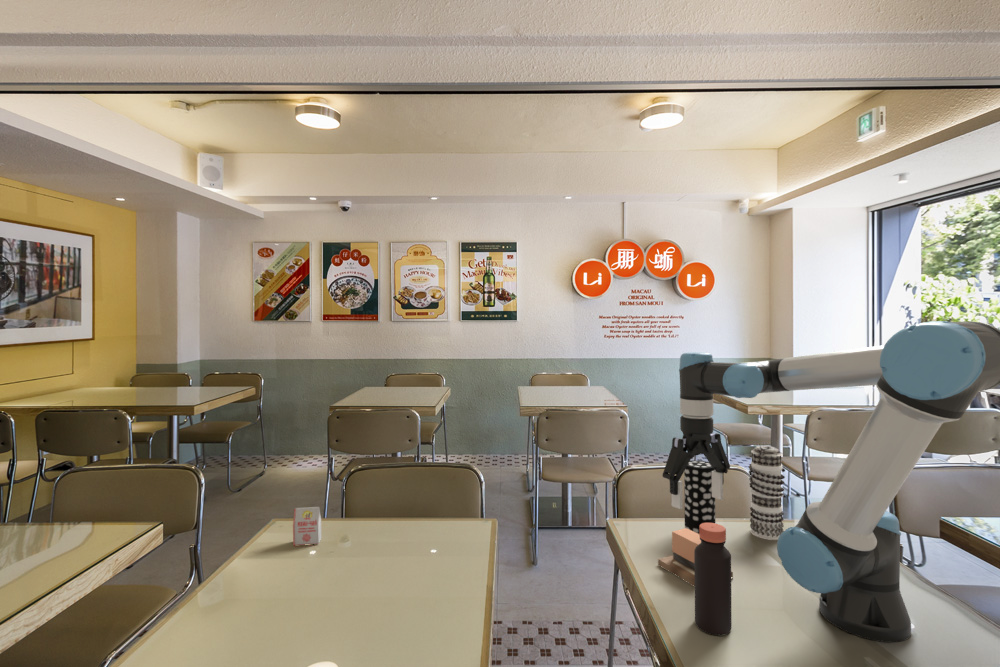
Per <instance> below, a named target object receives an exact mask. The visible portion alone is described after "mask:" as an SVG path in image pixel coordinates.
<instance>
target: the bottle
mask: <svg viewBox="0 0 1000 667" xmlns="http://www.w3.org/2000/svg"><path fill="white" fill-rule="evenodd" d="M699 536H700V540H701V543H700V544H699V545H698V546H696V548H695V551H694V565H695V587H694V622H695V625H696V626H697V627H698V629H699V630H701V631H702V632H704V633H707V634H709V635H712V634H713V636H725V635H728V634H730V632H732V579H731V571H732V554H731V552H730V551H729V550H728V548H727V547H726V546H725V544H726V540H727V528H726V527H725V526H723V525H721V524H718V523H716V522H715V523H702V524H700V525H699Z"/></svg>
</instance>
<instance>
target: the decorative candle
mask: <svg viewBox="0 0 1000 667" xmlns="http://www.w3.org/2000/svg"><path fill="white" fill-rule="evenodd" d="M750 452H751V461H750V464H749V465H748V470H749V471H748V474H749V476H750V477H749V482H750V483H749V487H750V488H751V489H749V492H750V493H751V501H750V502H751V504H750V505H751V507H749V509H750V513H749V514H750V519H749V522H750V526H749V527H750V530H749V532H750V533H751V534H752V535H753V536H754V537H757V538H760V539H763V540H769V541H778V538H779V536H780V535H781V533H782V532H784V531H785V530H784V523H783V521H784V515H785V514H784V511H783V504H782V502H783V501H782V500H783V499H782V498H783V497H784V491H785V488H783V487H782V485H784V484H785V481H784V479H785V478H786V476H785V475H784V474H782V473H784V472H786V469H785V468H784V467H783V464H782V460H783V459H782V456H783V455H784V454H783V453H782V452H781V451H780V449H778V448H777V447H775V446H771V445H765V444H763V445H762V444H761V445H756V446H755V447H754V448H753V449H751V451H750Z"/></svg>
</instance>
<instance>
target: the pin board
mask: <svg viewBox="0 0 1000 667" xmlns="http://www.w3.org/2000/svg"><path fill="white" fill-rule="evenodd" d="M657 562H658V563H657V565H658V566H659V565H660V566H659V567H661V566H662V567H663V569H664V568H665V569H664V570H666V569H667V570H666V571H668V570H669V571H670V572H669V571H668V572H669V573H671V572H672V574H673V573H674V574H676V575H677V576H676V575H675V576H676V577H678V576H679V577H680V579H681V578H682V579H681V580H683V579H684V580H685V581H684V580H683V581H684V582H686V581H687V582H686V583H688V582H689V583H690V584H689V583H688V584H689V585H691V584H692V585H691V586H693V585H694V586H695V565H694V563H693V562H691V561H689V560H687V559H685V558H684V557H682V556H680V555H678V554H676V553H674V552H673V551H672V555H669V556H665V557H661V558H658V559H657ZM662 567H661V568H662ZM674 574H673V575H674ZM733 576H734V572H733V571H732V570H731V577H733ZM679 577H678V578H679ZM733 578H734V577H733ZM694 586H693V587H694Z"/></svg>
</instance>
